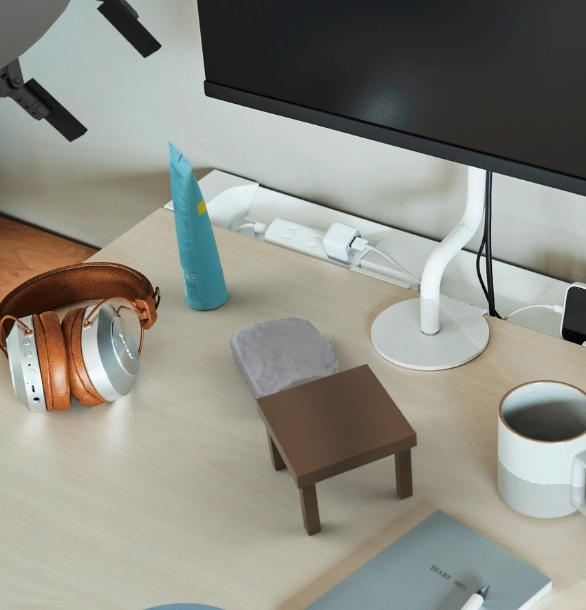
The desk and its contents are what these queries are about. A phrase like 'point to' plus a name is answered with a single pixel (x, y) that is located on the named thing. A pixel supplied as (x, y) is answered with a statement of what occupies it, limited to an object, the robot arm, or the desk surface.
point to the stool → (336, 433)
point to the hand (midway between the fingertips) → (118, 92)
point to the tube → (195, 238)
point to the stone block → (282, 355)
